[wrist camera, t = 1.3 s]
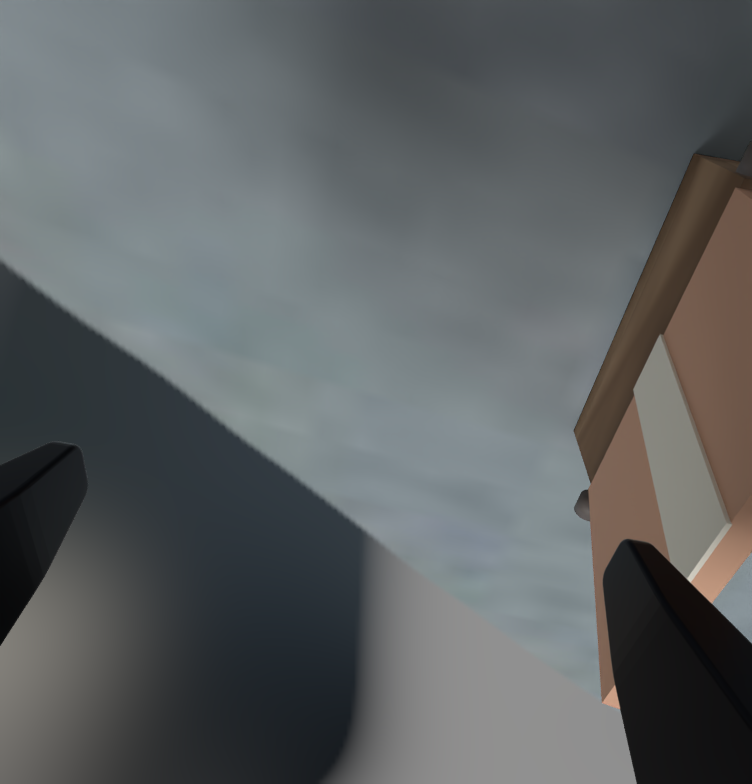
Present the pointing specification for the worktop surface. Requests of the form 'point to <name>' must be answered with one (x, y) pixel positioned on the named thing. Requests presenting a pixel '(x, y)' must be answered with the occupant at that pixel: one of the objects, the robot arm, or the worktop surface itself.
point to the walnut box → (656, 300)
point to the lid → (687, 434)
